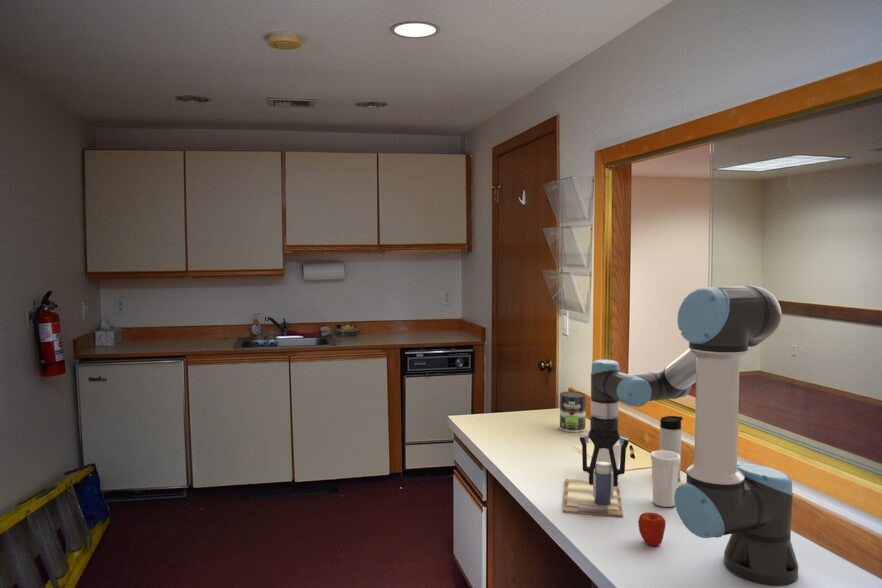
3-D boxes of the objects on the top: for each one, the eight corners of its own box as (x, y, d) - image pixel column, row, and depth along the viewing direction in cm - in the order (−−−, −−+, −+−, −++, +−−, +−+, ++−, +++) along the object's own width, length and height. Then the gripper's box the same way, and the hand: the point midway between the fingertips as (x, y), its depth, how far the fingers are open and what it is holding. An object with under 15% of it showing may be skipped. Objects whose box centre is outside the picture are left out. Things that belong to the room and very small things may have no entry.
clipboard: (622, 517, 171) (623, 511, 171) (562, 512, 174) (562, 506, 174) (618, 484, 194) (618, 478, 194) (565, 480, 198) (565, 474, 198)
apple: (633, 543, 156) (634, 514, 155) (645, 535, 160) (646, 507, 160) (657, 552, 151) (658, 522, 151) (669, 543, 156) (670, 514, 155)
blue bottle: (611, 506, 176) (611, 468, 175) (594, 504, 177) (594, 466, 176) (610, 500, 180) (611, 462, 179) (594, 498, 181) (594, 461, 181)
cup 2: (660, 511, 175) (661, 460, 174) (643, 499, 183) (644, 451, 181) (685, 507, 177) (686, 458, 176) (667, 496, 185) (669, 448, 184)
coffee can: (584, 433, 246) (585, 398, 245) (558, 431, 249) (558, 396, 248) (586, 426, 256) (587, 392, 255) (561, 424, 259) (561, 390, 258)
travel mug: (682, 483, 195) (684, 420, 193) (660, 482, 196) (661, 419, 194) (679, 476, 201) (680, 414, 199) (657, 474, 202) (659, 413, 200)
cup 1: (588, 475, 201) (588, 442, 201) (595, 466, 210) (596, 433, 209) (619, 481, 197) (620, 446, 196) (626, 471, 206) (626, 438, 205)
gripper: (635, 413, 178) (633, 493, 180) (573, 410, 182) (572, 488, 184) (637, 420, 171) (635, 504, 173) (572, 417, 175) (571, 498, 177)
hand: (602, 496), depth 179 cm, fingers closed on blue bottle, 4 cm apart
